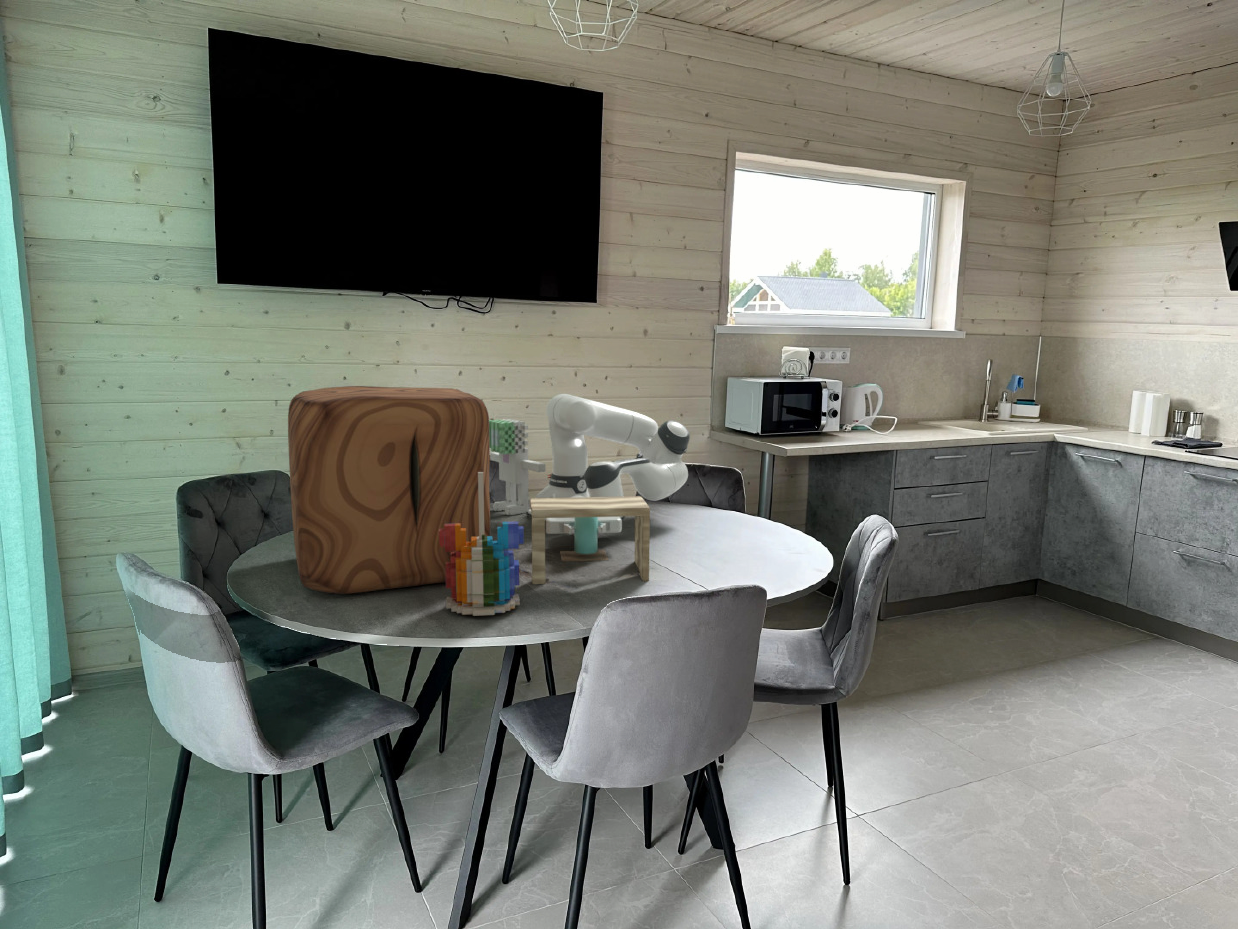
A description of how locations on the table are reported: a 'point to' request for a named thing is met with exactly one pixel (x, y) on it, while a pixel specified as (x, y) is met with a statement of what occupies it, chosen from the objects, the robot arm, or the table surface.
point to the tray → (583, 556)
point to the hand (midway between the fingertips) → (586, 531)
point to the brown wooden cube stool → (383, 483)
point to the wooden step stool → (589, 508)
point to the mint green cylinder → (586, 535)
